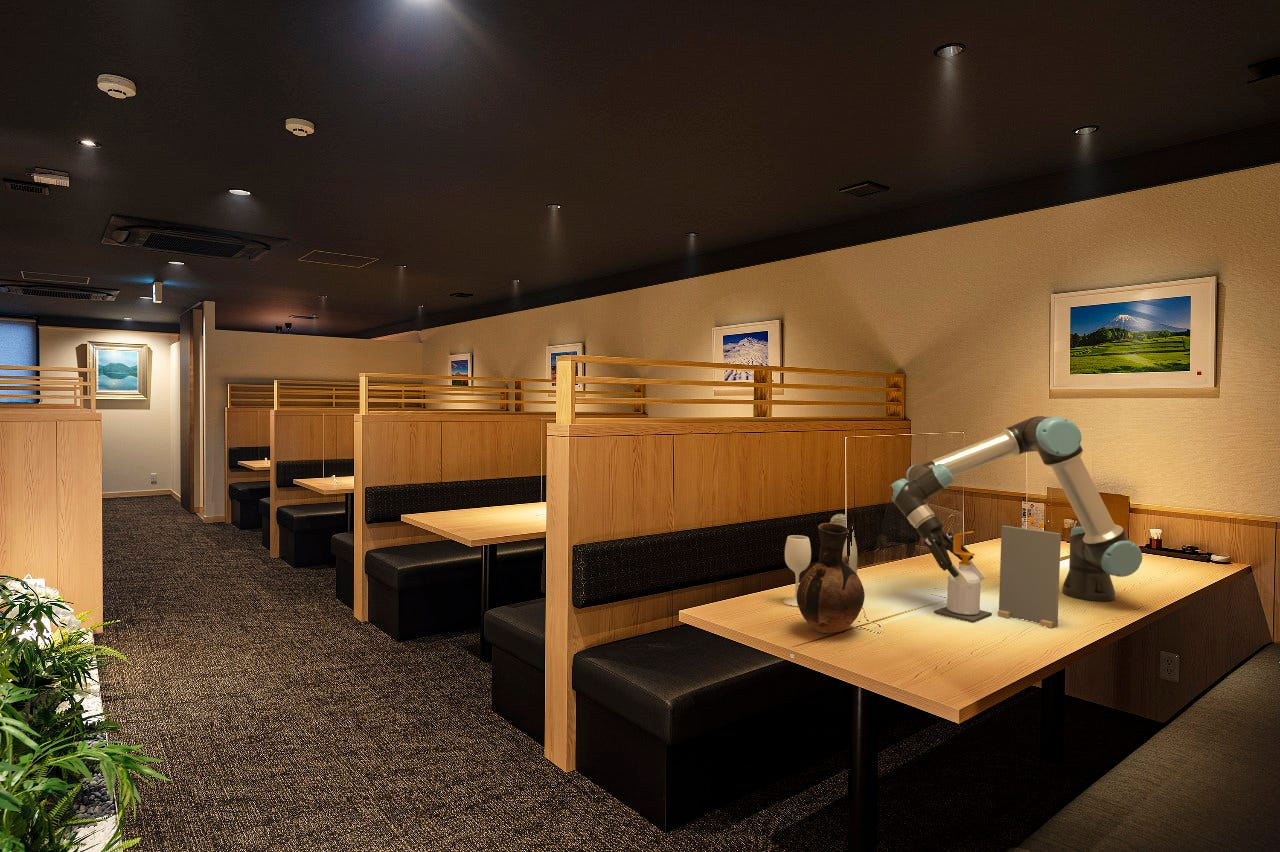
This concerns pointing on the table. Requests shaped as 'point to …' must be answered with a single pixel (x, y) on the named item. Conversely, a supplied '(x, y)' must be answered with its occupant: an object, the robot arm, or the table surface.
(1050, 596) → the divider
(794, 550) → the wineglass
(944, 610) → the coaster
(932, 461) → the robot arm
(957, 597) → the soap bottle
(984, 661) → the table surface
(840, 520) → the glass bottle
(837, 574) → the ceramic vessel
